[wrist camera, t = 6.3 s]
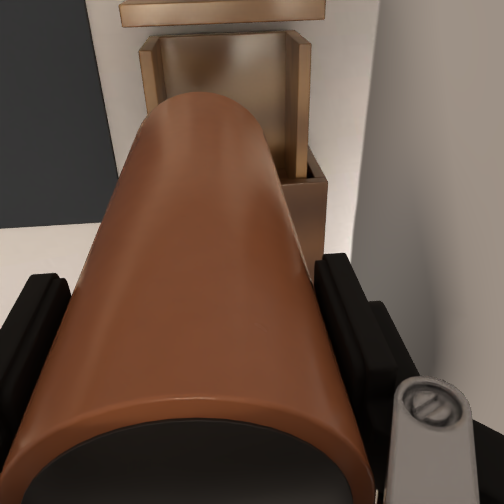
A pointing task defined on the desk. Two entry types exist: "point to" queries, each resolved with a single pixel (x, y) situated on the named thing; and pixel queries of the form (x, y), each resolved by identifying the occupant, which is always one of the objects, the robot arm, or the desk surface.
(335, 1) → the desk surface
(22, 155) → the desk mat
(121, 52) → the desk surface
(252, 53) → the drawer
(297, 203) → the cabinet
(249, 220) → the pen holder
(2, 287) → the desk surface
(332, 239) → the desk surface
